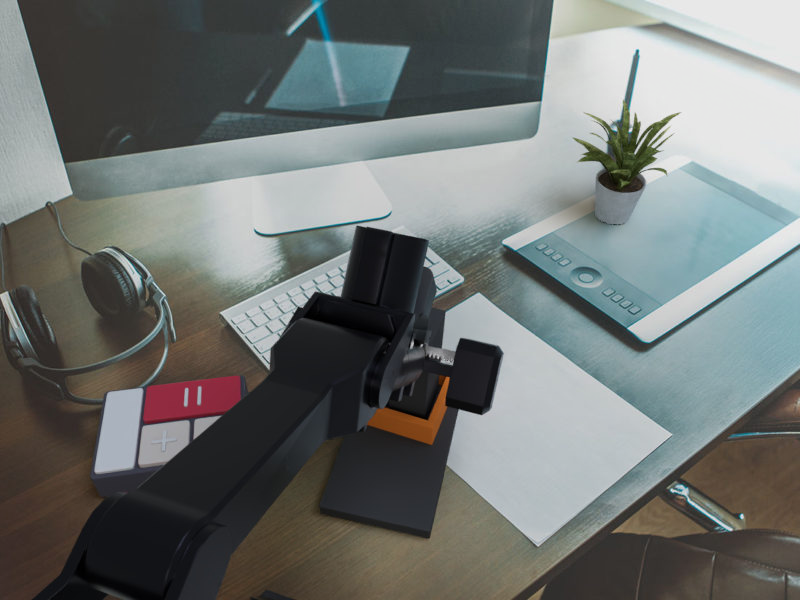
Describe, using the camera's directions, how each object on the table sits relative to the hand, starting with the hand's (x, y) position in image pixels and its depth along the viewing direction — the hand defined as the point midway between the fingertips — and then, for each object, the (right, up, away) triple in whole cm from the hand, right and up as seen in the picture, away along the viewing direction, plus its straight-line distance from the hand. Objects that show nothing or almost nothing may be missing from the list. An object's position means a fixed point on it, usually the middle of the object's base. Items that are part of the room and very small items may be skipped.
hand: (415, 353), depth 68 cm
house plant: (+31, +19, +31) cm, 48 cm away
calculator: (-25, -10, +3) cm, 27 cm away
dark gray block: (0, -6, +4) cm, 7 cm away
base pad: (-2, -10, +1) cm, 10 cm away
